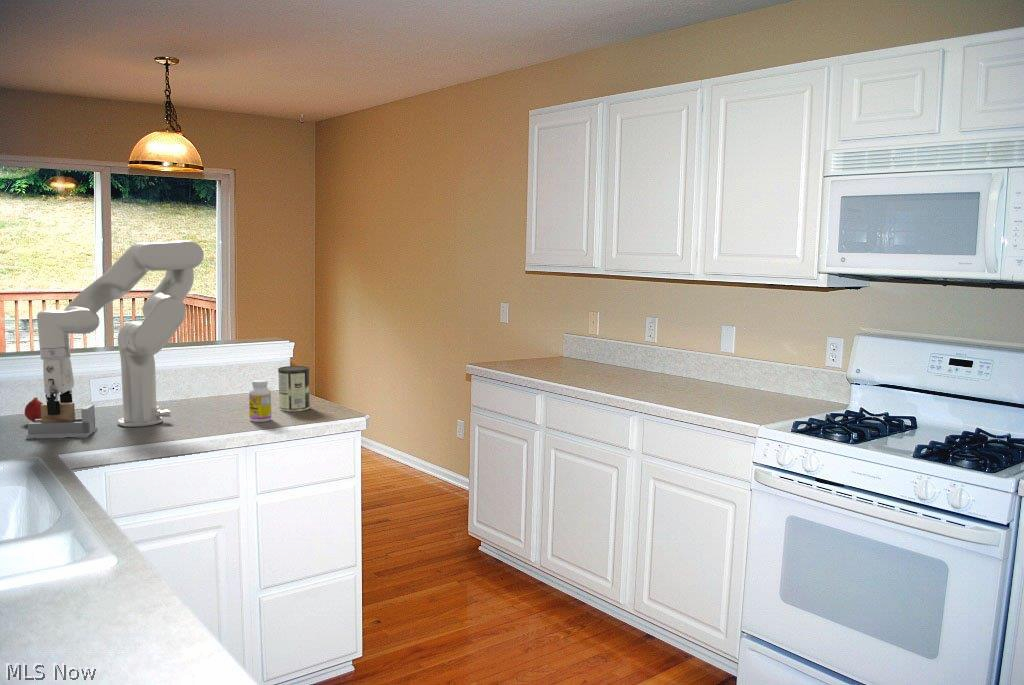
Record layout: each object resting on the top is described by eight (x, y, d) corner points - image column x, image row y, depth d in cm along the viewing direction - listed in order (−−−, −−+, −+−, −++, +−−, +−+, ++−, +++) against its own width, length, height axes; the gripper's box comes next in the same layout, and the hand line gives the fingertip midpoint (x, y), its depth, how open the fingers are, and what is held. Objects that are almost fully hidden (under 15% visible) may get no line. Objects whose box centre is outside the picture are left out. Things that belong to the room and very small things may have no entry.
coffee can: (295, 404, 281) (294, 364, 279) (316, 408, 275) (315, 367, 274) (272, 409, 272) (271, 368, 270) (293, 413, 267) (292, 371, 265)
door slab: (75, 429, 235) (74, 402, 234) (72, 431, 233) (70, 404, 232) (46, 429, 234) (44, 403, 233) (42, 432, 231) (40, 405, 230)
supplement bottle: (245, 420, 256) (244, 380, 254) (264, 417, 260) (263, 378, 259) (256, 423, 251) (255, 383, 249) (275, 420, 256) (274, 380, 254)
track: (97, 429, 239) (95, 403, 238) (86, 437, 230) (85, 410, 229) (38, 431, 236) (37, 404, 235) (26, 438, 227) (24, 411, 226)
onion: (36, 425, 243) (35, 399, 242) (20, 424, 244) (19, 398, 243) (51, 421, 249) (50, 396, 248) (35, 420, 250) (34, 395, 249)
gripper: (58, 357, 222) (63, 417, 225) (79, 347, 239) (84, 403, 242) (28, 358, 221) (34, 418, 224) (52, 348, 238) (57, 404, 241)
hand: (60, 410), depth 233 cm, fingers open, 9 cm apart
